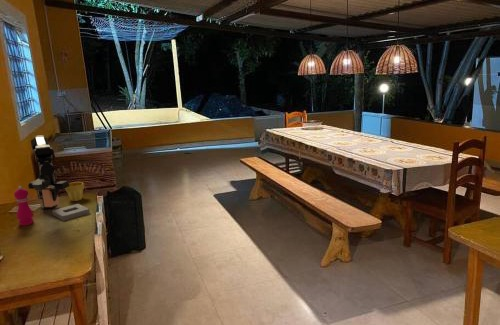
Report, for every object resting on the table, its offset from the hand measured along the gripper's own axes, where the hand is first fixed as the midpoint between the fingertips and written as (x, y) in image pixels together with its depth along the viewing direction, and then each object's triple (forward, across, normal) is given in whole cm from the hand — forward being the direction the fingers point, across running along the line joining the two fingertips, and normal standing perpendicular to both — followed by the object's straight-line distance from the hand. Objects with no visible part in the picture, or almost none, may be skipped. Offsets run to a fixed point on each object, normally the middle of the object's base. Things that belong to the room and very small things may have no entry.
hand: (51, 201), depth 182 cm
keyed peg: (+2, 0, 0) cm, 2 cm away
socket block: (+12, +1, +12) cm, 17 cm away
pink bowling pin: (+12, -15, -2) cm, 19 cm away
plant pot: (+12, -12, +36) cm, 40 cm away
